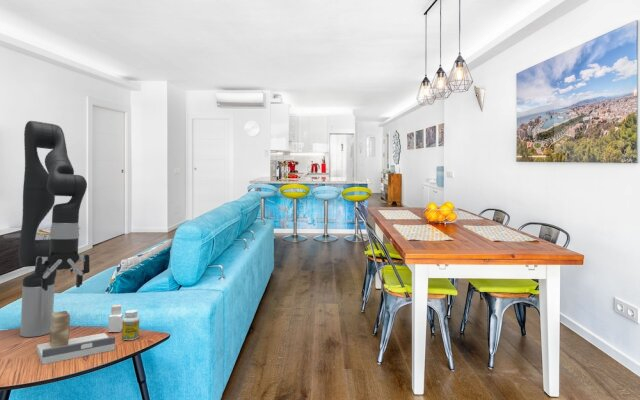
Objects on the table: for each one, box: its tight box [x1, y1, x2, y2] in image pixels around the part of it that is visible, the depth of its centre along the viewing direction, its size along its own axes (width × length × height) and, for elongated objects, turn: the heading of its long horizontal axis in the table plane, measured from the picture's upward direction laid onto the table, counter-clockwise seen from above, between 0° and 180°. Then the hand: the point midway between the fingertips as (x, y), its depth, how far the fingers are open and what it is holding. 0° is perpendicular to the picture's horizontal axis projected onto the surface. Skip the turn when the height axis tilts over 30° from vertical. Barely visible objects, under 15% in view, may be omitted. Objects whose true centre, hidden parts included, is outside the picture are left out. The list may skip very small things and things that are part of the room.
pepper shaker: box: [107, 304, 124, 333], centre depth 140 cm, size 4×4×10 cm
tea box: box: [49, 310, 71, 348], centre depth 120 cm, size 4×6×10 cm
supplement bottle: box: [121, 309, 140, 341], centre depth 134 cm, size 5×5×10 cm
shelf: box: [36, 332, 116, 365], centre depth 121 cm, size 13×19×4 cm
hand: (62, 288), depth 120 cm, fingers open, 8 cm apart
